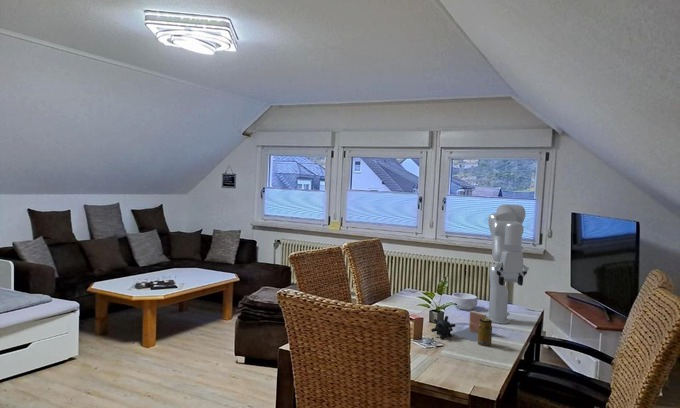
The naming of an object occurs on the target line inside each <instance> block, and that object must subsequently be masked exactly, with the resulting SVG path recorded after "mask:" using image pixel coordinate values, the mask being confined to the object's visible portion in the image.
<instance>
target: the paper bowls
mask: <svg viewBox="0 0 680 408" xmlns="http://www.w3.org/2000/svg"><path fill="white" fill-rule="evenodd" d="M451 303H452V304H453V303H456V304H457V305H454V306H455V308H456V309H458V310H461V309H462V310H463V311H473V310H474V307H476V306H478V296H476V295H474V294H472V293H466V292H454V293H452V294H451ZM462 310H461V311H462Z"/></svg>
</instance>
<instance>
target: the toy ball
mask: <svg viewBox="0 0 680 408" xmlns="http://www.w3.org/2000/svg"><path fill="white" fill-rule="evenodd" d="M448 320H449V316H447V315H445V316H444V319H439V320H437V319H436V318H434V319H433V322H434V323H435V325H434V328H433V327H432V328H431V332H432V333H436V335H439V339H440V340H443V339H444V337H446V336H447V337H449V338H451V337H453V335H452V334H451V333H452V332H453V331H454V328H456V325H457V324H456V323H450V322H449V321H448Z"/></svg>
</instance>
